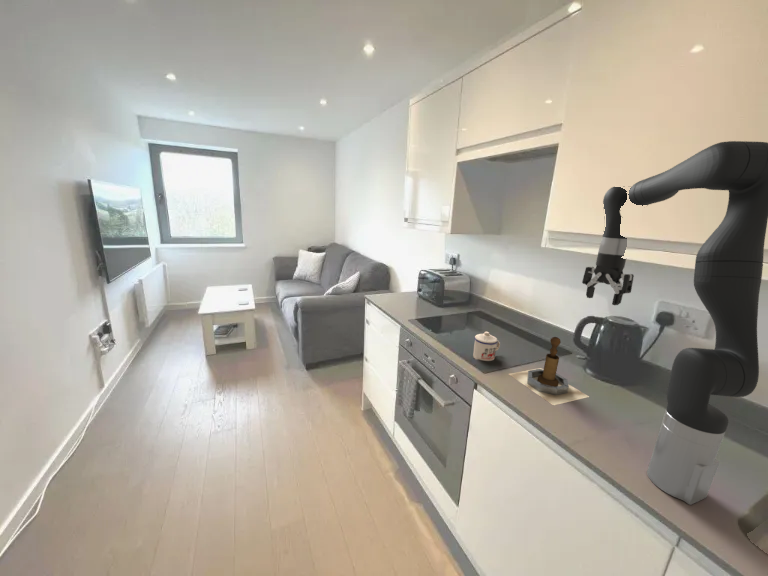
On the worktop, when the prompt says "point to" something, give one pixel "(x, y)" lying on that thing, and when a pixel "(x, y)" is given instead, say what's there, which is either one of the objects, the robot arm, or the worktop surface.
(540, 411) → the worktop surface
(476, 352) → the teacup with lid
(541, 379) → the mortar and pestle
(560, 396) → the beech board
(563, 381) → the steel collar
